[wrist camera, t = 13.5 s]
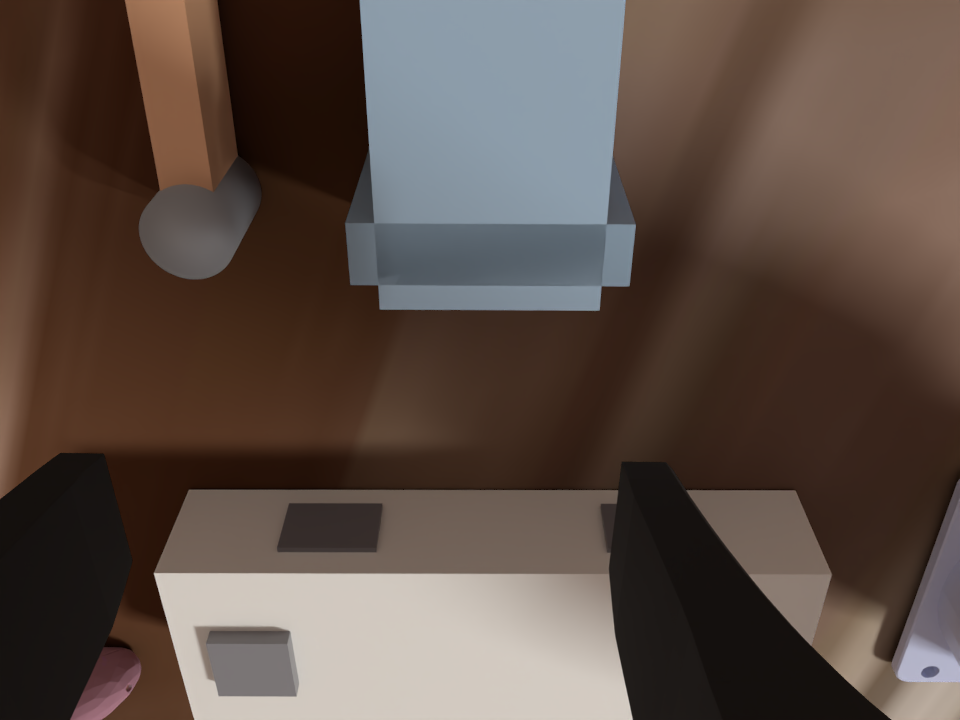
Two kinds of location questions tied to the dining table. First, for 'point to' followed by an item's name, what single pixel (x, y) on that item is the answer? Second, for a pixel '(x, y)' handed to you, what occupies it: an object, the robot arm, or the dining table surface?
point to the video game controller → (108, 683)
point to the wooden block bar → (190, 139)
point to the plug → (491, 155)
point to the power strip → (432, 599)
